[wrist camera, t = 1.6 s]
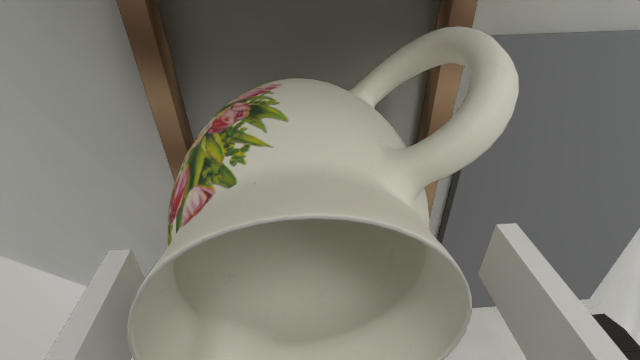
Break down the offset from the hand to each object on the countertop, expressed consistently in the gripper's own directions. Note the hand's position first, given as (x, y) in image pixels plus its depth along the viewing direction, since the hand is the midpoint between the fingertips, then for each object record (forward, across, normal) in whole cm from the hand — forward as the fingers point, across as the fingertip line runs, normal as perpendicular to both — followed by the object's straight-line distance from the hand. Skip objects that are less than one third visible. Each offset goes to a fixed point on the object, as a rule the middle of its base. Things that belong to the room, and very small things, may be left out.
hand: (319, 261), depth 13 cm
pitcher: (+10, 0, +1) cm, 11 cm away
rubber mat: (+10, +18, -6) cm, 22 cm away
